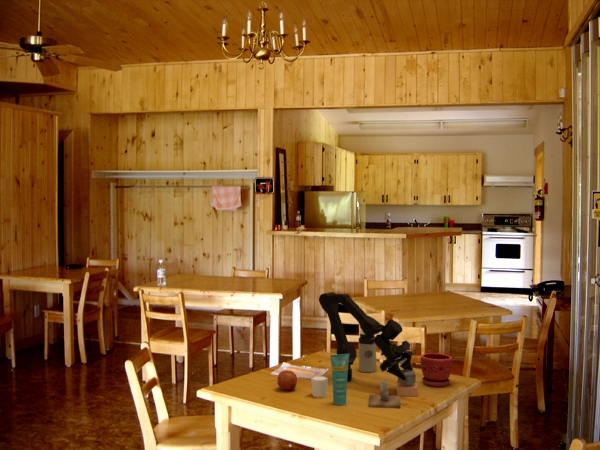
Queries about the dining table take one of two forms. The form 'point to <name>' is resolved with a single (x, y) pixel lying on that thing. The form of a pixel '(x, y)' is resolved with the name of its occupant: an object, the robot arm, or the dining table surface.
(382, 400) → the square base plate
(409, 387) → the stand
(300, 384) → the dining table surface
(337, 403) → the tube
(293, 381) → the apple
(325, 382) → the shot glass
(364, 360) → the travel mug
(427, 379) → the plant pot
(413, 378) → the cap
